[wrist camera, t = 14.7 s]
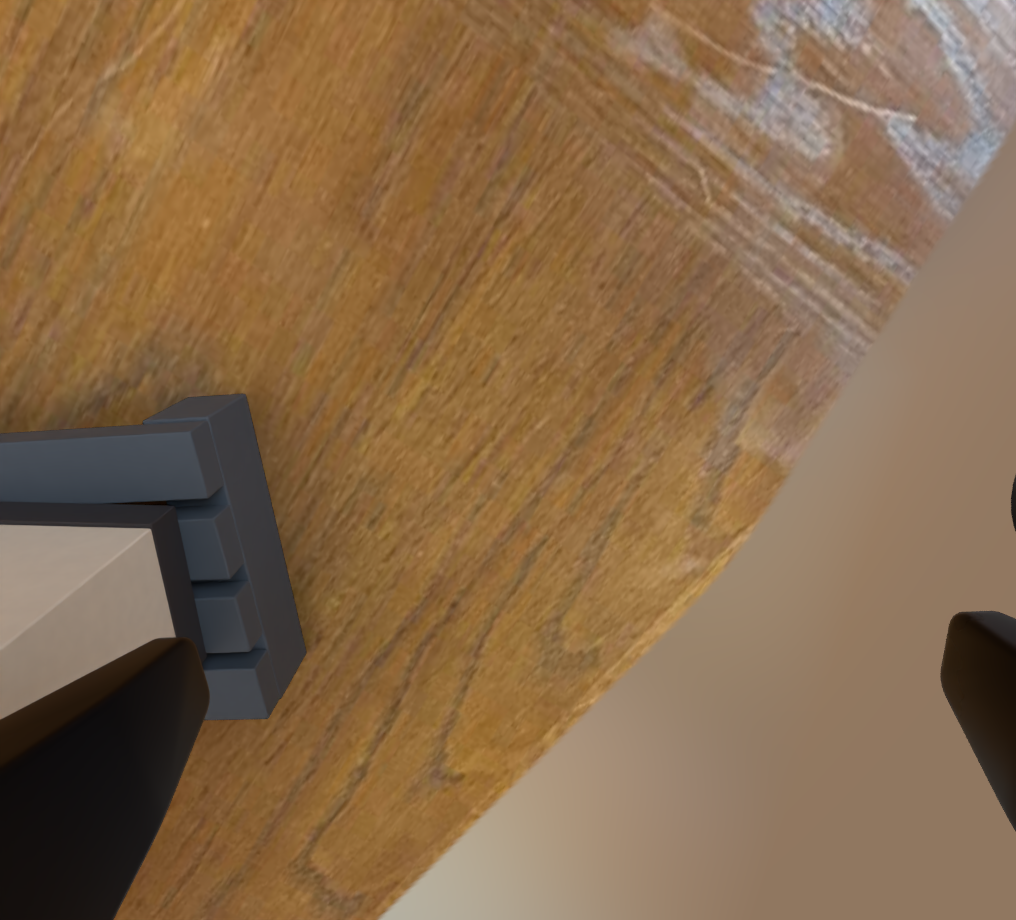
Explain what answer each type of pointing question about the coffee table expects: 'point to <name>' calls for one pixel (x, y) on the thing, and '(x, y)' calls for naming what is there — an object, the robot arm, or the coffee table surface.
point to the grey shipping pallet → (189, 529)
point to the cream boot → (86, 591)
